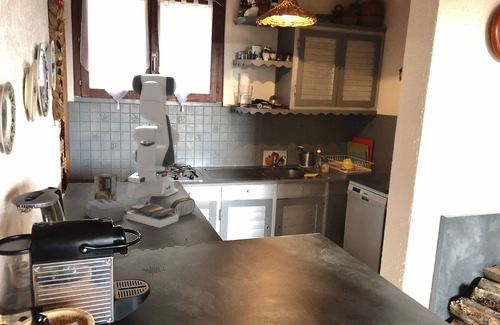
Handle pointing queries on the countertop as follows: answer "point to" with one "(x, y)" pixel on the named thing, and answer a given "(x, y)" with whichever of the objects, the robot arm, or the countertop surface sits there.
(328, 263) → the countertop surface
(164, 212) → the flat block
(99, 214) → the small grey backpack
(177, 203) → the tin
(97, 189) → the coffee box
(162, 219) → the white rectangular tray
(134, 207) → the rocker
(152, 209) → the rocker
